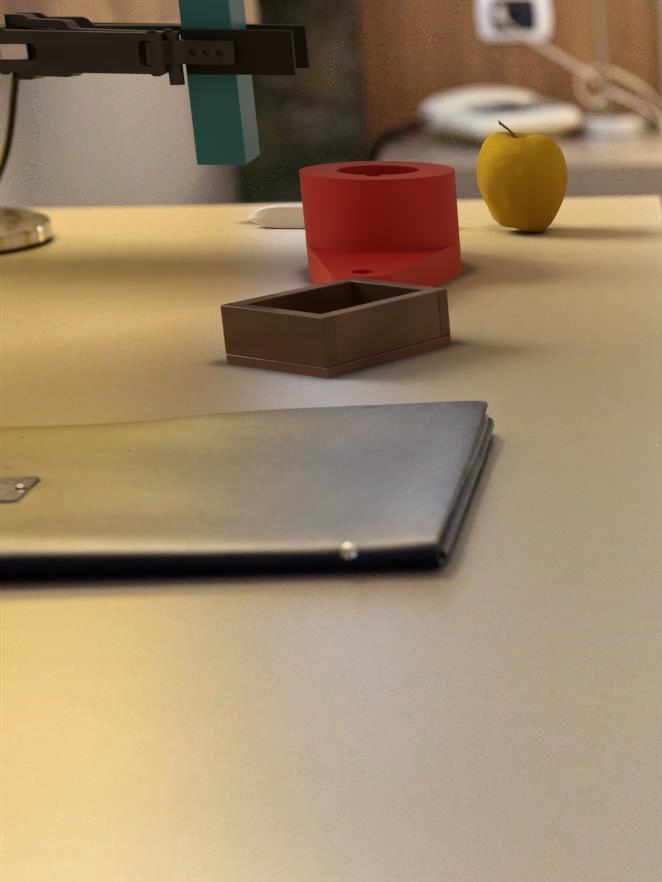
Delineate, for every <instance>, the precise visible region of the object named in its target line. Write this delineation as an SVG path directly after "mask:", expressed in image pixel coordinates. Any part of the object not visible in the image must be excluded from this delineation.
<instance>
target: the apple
mask: <svg viewBox="0 0 662 882" xmlns="http://www.w3.org/2000/svg"><path fill="white" fill-rule="evenodd" d="M497 122H498V125H499V126H501V127H502V128H504V129H505V130H506V131H497V132H494V133H492V134H490V135H489V136H488V137H487V138H486V139H485V140H484V142H483V143H482V145H481V147H480V150H479V152H478V157H477V164H476V183H477V186H478V189H479V192H480V194H481V196H482V198H483V200H484V203H485V204H486V206H487V209H488V211H489V213H490V215H491V217H492V219H493V220H494V221H495V222H496V223H498V225H500V226H501V227H503V228H510V229H516V230H519V231H524V232H525V231H526V232H533V233H539V232H545V231H547V230H548V228H549V226H550V225H552V223H553V222H554V221H555V218H556V216H557V214H558V212H559V211H560V208H561V206H562V204H563V202H564V199H565V195H566V192H567V187H568V167H567V162H566V158H565V156H564V153H563V151H562V149H561V147H560V146H559V145H558V143H557V142H556V140H554V139H553V138H551V137H550V136H548V135H545V134H539V133H538V134H536V133H527V132H517V131H516V132H515V131H513V130H512V129H510V128H509V127H508V126H507V125H505V124H504V123H503V122H501V121H500V120H499V119H497Z"/></svg>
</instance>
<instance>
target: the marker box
mask: <svg viewBox="0 0 662 882" xmlns="http://www.w3.org/2000/svg"><path fill="white" fill-rule="evenodd" d="M177 2H178V11H179V12H178V13H179V20H180V23H181V29H183V28H188V29H247V25H246V24H247V17H246V6H245V0H177ZM182 38H183V37H182ZM185 72H186V71H185ZM186 79H187V88H188V90H187V91H188V98H189V106H190V117H191V124H192V131H193V140H194V141H193V142H194V151H195V158H196V165H198V166H247V165H248V164H249V163H251V162H252V161H254V160H255V159H256V158H257V157H259V156H260V155H261V151H260V150H261V149H260V142H259V141H260V140H259V130H258V123H257V113H256V101H255V94H254V84H253V75H219V74H187V72H186Z"/></svg>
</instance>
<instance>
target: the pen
mask: <svg viewBox="0 0 662 882" xmlns="http://www.w3.org/2000/svg"><path fill="white" fill-rule="evenodd" d="M248 219H249V221H251V222H252V223H254V224H256V225H259V226H261V227H265V228H269V229H271V228H272V229H305V226H304V216H303V206H302V203H281V204H280V203H279V204H271V205H265V206H262V207H261V208H258V209H257V210H255V211H253V212H252V213H251V214H250V216H249V217H248Z"/></svg>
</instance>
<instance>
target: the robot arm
mask: <svg viewBox="0 0 662 882" xmlns="http://www.w3.org/2000/svg"><path fill="white" fill-rule="evenodd" d="M3 17H4V23H3V24H1V23H0V75H8V76H9V75H11V74H12V78H13V80H22V81H32V80H40V79H44V78H47V77H51V78H53V77H55V78H72V77H79V76H81V75H83V74H107V75H108V74H111V75H113V74H115V75H150V76H152V77H162V76H165V75H168V80H169V86H185V85H186V79H185V72H187V73H186V75H187V74H219V75H252V76H297V75H298V74H297V69H310V68H311V62H310V61H311V60H310V49H309V39H308V29H307V28H308V27H307V24H275V23H274V24H271V23H270V24H267V23H265V24H264V23H246V25H247V29H188V28H183V29H181V22H127V21H126V22H124V21H123V22H121V21H120V22H118V21H117V22H115V21H91V20H90V19H89V18H87V17H86V16H82V15H46V14H44V13H42V12H40V11H15V12H13V13H11V12H10V13H9V12H8V13H3ZM182 37H183V38H182ZM184 65H185V71H184Z"/></svg>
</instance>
